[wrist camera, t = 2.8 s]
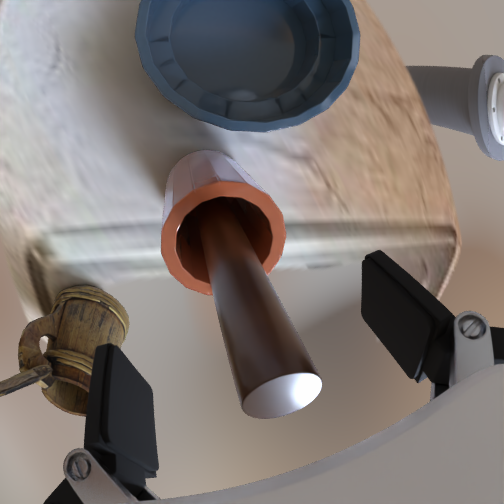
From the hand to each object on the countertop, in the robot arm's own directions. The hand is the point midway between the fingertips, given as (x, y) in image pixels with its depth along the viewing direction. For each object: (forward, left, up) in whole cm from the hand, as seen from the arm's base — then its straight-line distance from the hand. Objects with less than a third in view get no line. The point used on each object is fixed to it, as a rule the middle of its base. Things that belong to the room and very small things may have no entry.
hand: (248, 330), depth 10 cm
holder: (0, 0, -18) cm, 18 cm away
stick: (0, 0, -17) cm, 17 cm away
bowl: (-6, -12, -18) cm, 22 cm away
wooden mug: (+17, +7, -18) cm, 25 cm away
